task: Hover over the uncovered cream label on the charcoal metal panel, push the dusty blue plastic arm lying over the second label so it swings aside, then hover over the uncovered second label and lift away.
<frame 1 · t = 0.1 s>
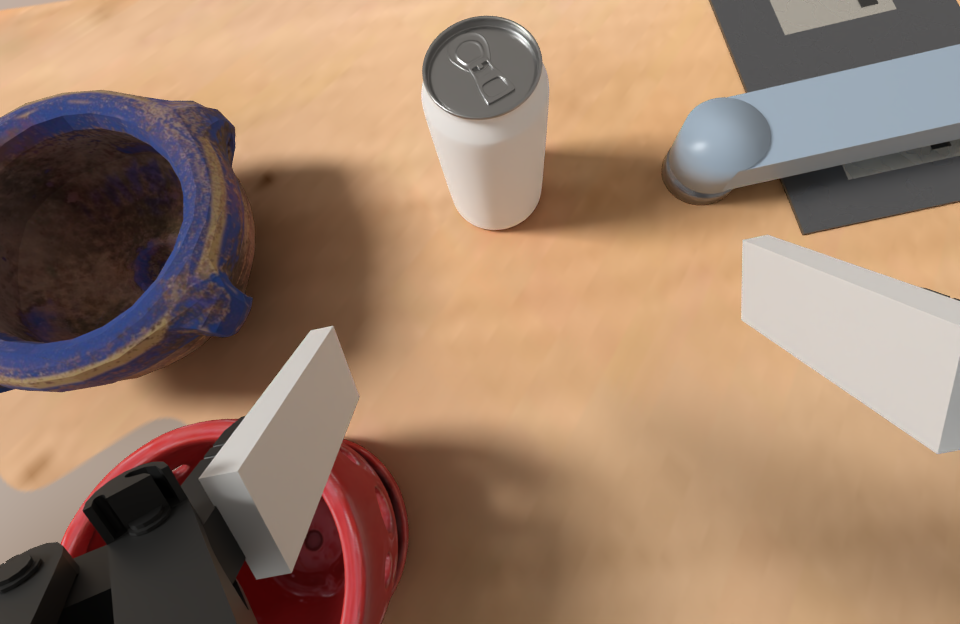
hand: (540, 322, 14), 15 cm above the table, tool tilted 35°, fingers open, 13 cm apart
arm pivot: (698, 172, 31), on the table
bowl: (185, 275, 34), on the table
can: (496, 192, 33), on the table
label panel: (854, 58, 32), on the table
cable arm: (857, 115, 28), point 3 cm above the table, hinge at 0.0°
plant pot: (329, 523, 29), on the table
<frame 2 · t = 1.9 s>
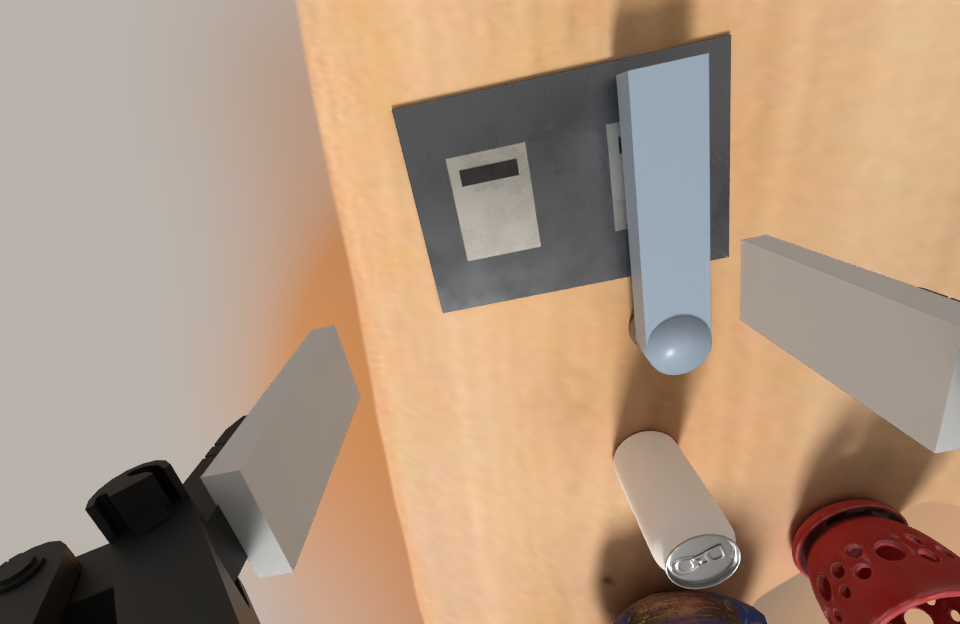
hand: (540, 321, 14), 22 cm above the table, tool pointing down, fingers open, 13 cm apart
bowl: (664, 610, 53), on the table
can: (643, 453, 45), on the table
label panel: (571, 188, 35), on the table
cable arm: (667, 234, 33), point 3 cm above the table, hinge at 0.0°
plant pot: (833, 529, 49), on the table
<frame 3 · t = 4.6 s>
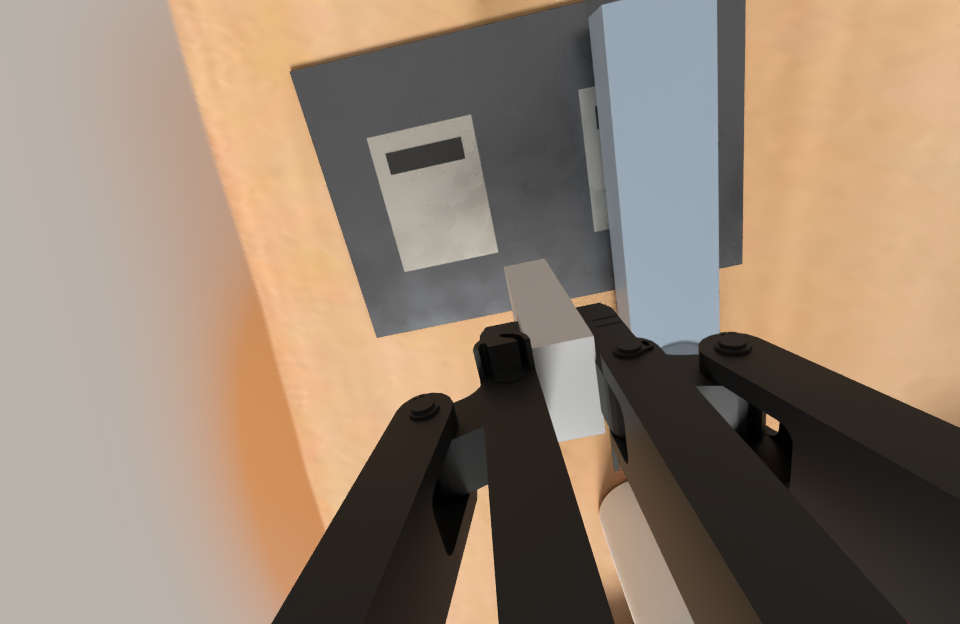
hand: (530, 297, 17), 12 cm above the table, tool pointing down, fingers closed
can: (636, 504, 36), on the table
label panel: (535, 175, 26), on the table
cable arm: (661, 235, 25), point 3 cm above the table, hinge at 0.0°
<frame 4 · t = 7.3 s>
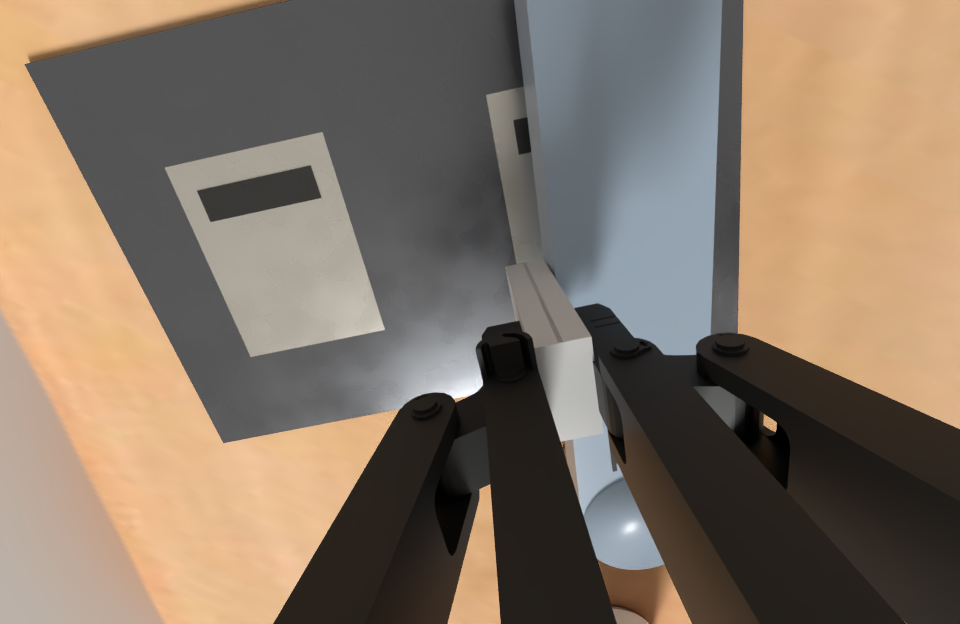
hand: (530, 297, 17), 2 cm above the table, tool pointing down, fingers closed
label panel: (431, 222, 18), on the table
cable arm: (624, 317, 16), point 3 cm above the table, hinge at 2.2°, touching gripper
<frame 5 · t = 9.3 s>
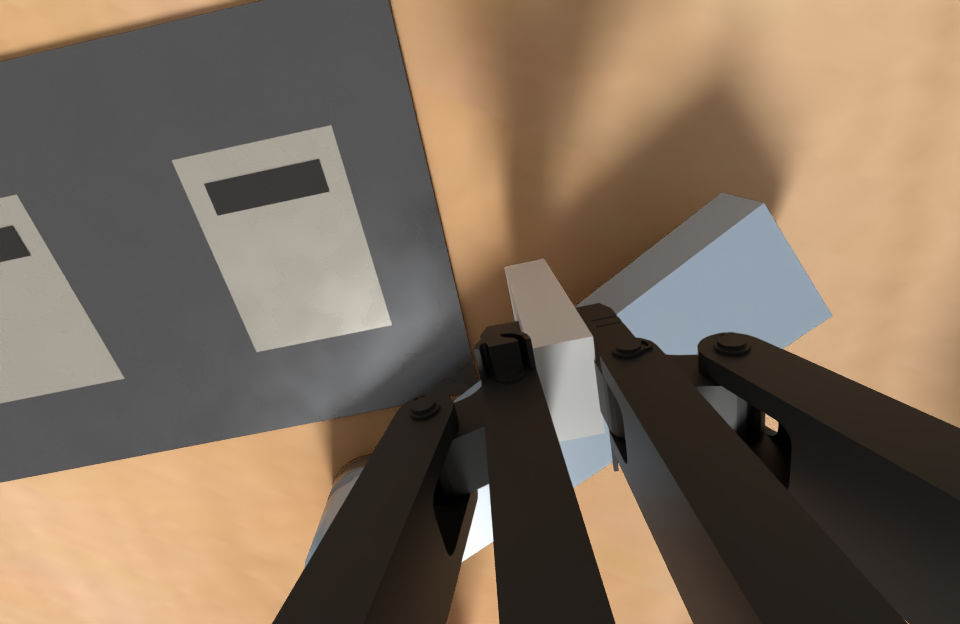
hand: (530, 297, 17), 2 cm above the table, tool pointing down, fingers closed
arm pivot: (383, 493, 23), on the table
label panel: (149, 277, 18), on the table
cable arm: (524, 434, 18), point 3 cm above the table, hinge at 60.2°
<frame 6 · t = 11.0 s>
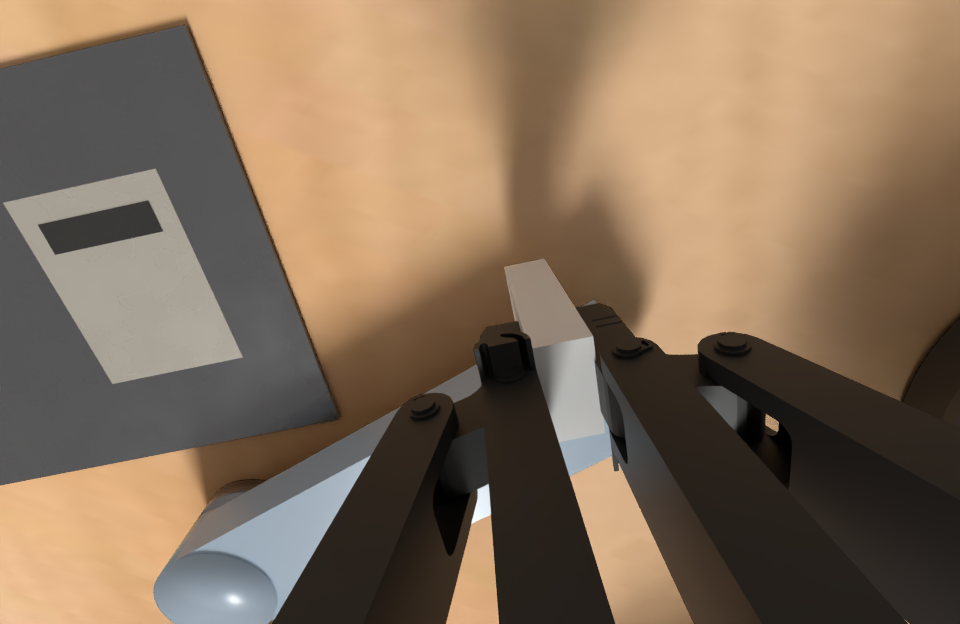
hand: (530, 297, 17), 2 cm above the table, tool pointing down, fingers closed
arm pivot: (259, 517, 23), on the table
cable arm: (388, 488, 19), point 3 cm above the table, hinge at 70.3°, touching gripper
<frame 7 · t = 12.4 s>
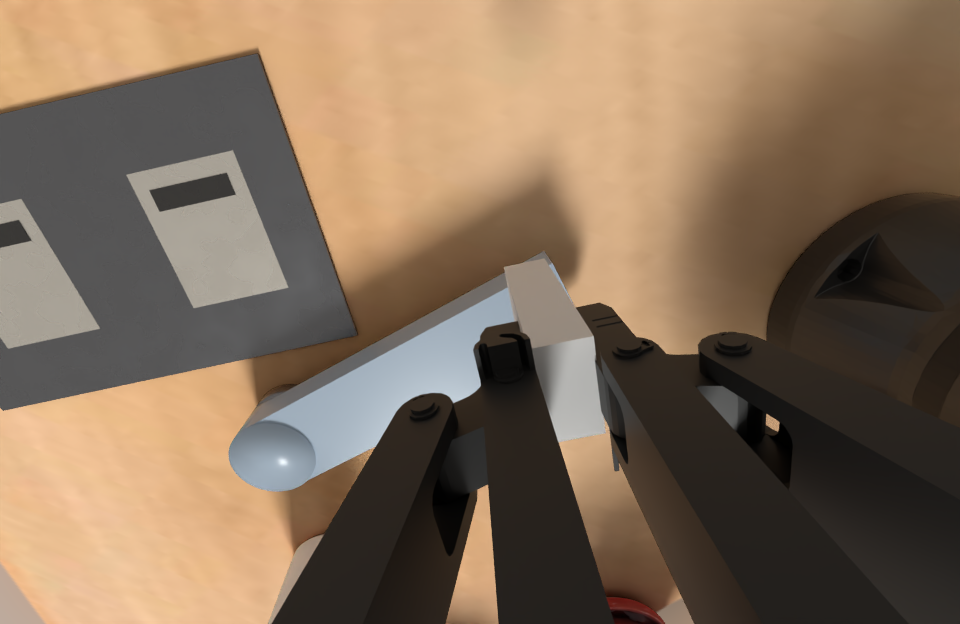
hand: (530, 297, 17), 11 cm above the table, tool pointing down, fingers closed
can: (335, 556, 37), on the table
label panel: (114, 255, 26), on the table
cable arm: (398, 382, 27), point 3 cm above the table, hinge at 72.6°
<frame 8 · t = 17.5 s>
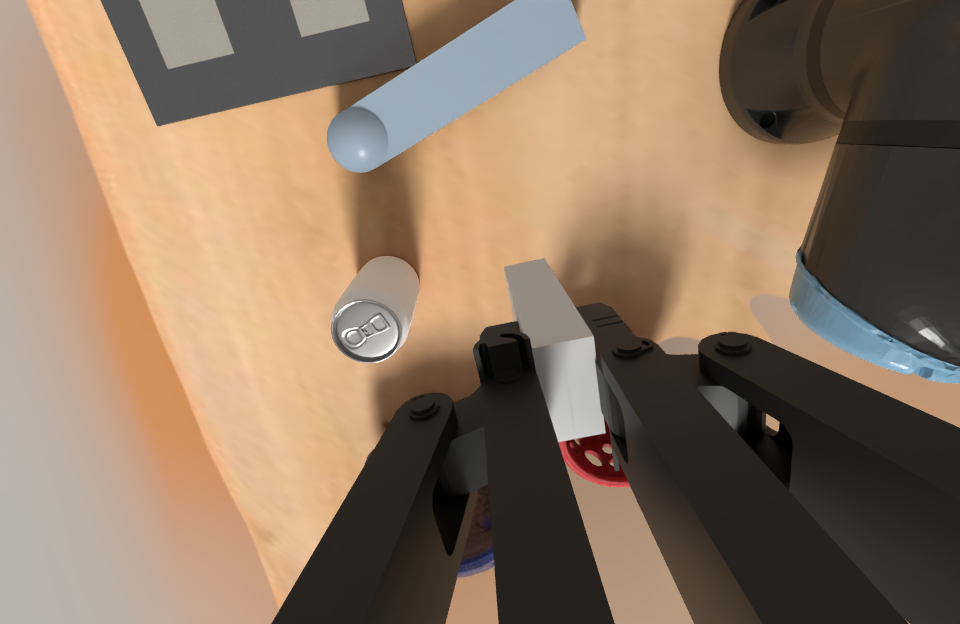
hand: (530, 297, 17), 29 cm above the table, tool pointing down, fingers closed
bowl: (451, 459, 56), on the table
can: (389, 283, 47), on the table
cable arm: (448, 86, 37), point 3 cm above the table, hinge at 72.6°
plant pot: (593, 368, 52), on the table
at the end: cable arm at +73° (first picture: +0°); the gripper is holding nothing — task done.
